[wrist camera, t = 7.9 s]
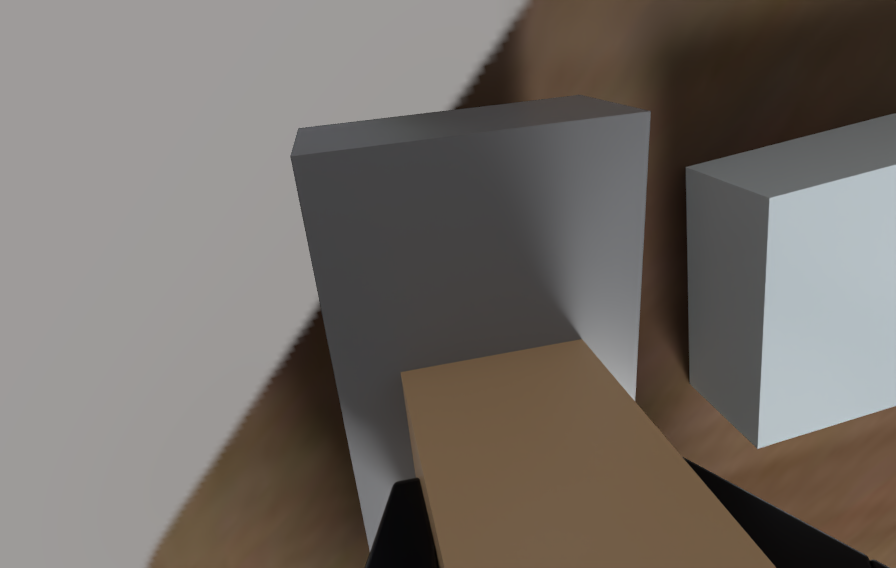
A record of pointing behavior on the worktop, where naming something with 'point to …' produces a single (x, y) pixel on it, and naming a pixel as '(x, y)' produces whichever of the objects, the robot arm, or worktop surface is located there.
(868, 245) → the tile
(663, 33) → the worktop surface
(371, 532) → the tan block grey base
